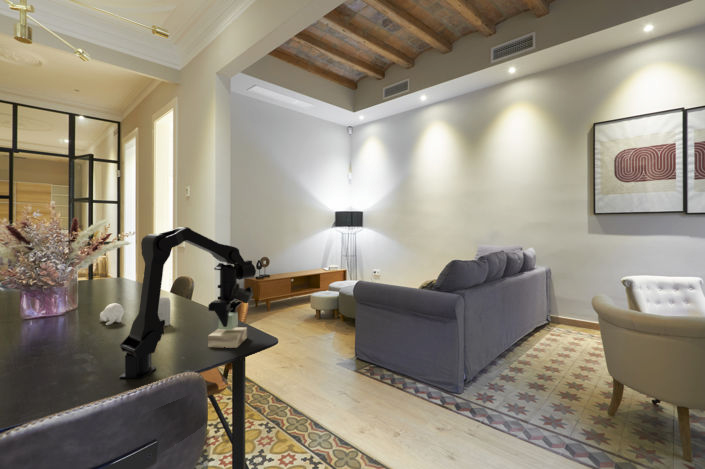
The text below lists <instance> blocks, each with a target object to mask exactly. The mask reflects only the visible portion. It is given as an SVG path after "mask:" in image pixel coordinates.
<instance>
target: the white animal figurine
mask: <svg viewBox="0 0 705 469" xmlns="http://www.w3.org/2000/svg"><path fill="white" fill-rule="evenodd" d="M124 312H125V309H124V308H123V306H122V305H121V304H119V303H118V302H117V303H116V302H115V303H114V302H113V303H110V304H108V305H107V306H106V307H105V308H104V310H102V311H101V312H100V313H99V317H100V318H99V320H100V322H106V323H105V326H109V325H112V324H114V322H115V321H116V322H117V323H122V319H123V318H122V317H123V315H124V314H125V313H124Z"/></svg>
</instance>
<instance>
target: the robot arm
mask: <svg viewBox="0 0 705 469" xmlns="http://www.w3.org/2000/svg"><path fill="white" fill-rule="evenodd" d="M184 242H185V243H187V244H189V245H191V246H193V247H196V248H198V249H201V250H202V251H205V252H207V253H209V254H210V255H212V257H213V258H214V259H216V260H217V261H219V263H218V264H217V265H216V266H215V267H214V270H215V271H219V284H218V285H217V289H219V296H217V299H215V300H213V301H210V303H208V305H207V306H208V307H207V308H208V311H211V312H214V313H215V314H216V316H217V317H219V319H220V321H221V323H222V325H223V327H227V323H228V316H229V312H237V310H238V307H239V306H240V305H242V303H244V304H249V303H250V302H251V301H252V298H253V296H254V295H255V294H254V291H253V287H252V286H248V287H246V288H241V286H240V283H239V282H238V280H246V279H253V278H254V277H255V276H256V274H257V270H256V267H255V265H254V264H253V260H249V259H247V260H245V259H244V258H243V256H242V255H241V253H240V249H239V248H237V247H235V246H232V245H227V244H224V243H219V242H217V241H214V240H213V239H211V238H209V237H208V236H204V235H203V234H201V233H198V232H196V231H194V230H193V229H191V228H190V227H186V226H185V227H183V226H179V227H177V228H174V229H172V230H167V231H163V232H160V233H149V234H146V235H145V236H144V237H143V238H142V240H141V242H140V244H141V245H140V247H141V248H140V249H141V256H142V258H143V261H144V268H143V269H144V270H143V271H144V272H143V279H142V286H141V294H140V302H139V303H140V304H139V310H138V314H137V315H136V317H135V319H134V320H133V321H132V324H131V327H130V331H129V335H127V337H126V338H125V339H124V340H123V341H122V342H120V344H119V348H120V349H121V351H122V352H124V353H126V354H125V356H124V372H123V373H122V374H121V375H119V378H120V379H139V380H140V379H141V380H142V379H144V378H145V377H146V376H148V375H149V374H150V373H152V372H154V371H155V370H156V369H157V367H156V366H152V354H154V353H156V350H157V349H156V348H157V347H158V342H159V343H160V341H161V340H162V337H163V335H165V332H164V331H165V330H164V328H165V326H164V325H165V320H163V319H160V318H159V316H158V308H159V300H160V296H161V293H162V292H161V291H162V282H163V276H164V274H163V272H164V266H165V264H166V263H167V261H168V259H169V258H170V256H171V254H172V253H171V252H172V249H173V248H174V247H175V248H176V247H177V246H179V245H181V244H183V243H184ZM224 263H226V264H224Z"/></svg>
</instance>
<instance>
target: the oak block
mask: <svg viewBox="0 0 705 469" xmlns="http://www.w3.org/2000/svg"><path fill="white" fill-rule="evenodd" d="M247 338H248V327H246V326H245V327H241V326H236V327H235V328H234V329H233V330H221V329H218V328H217V329H215V330H214V331H213V332H211V333H210V334H208V336H207V340H208V342H207V344H208V345H207V347H208V348H224V347H225V349H226V348H229V349H232V348H234V349H235V348H236V349H237V348H238V347H239V346H240V345H241V344H242V343H243V342H245V341H246V339H247Z"/></svg>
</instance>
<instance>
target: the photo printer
mask: <svg viewBox="0 0 705 469" xmlns="http://www.w3.org/2000/svg"><path fill="white" fill-rule="evenodd" d="M158 316H159V318H160V319H163V320H165V325H164V327H166V326H170V325H171V299H170V297H168V296H161V295H160V300H159V308H158Z"/></svg>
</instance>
